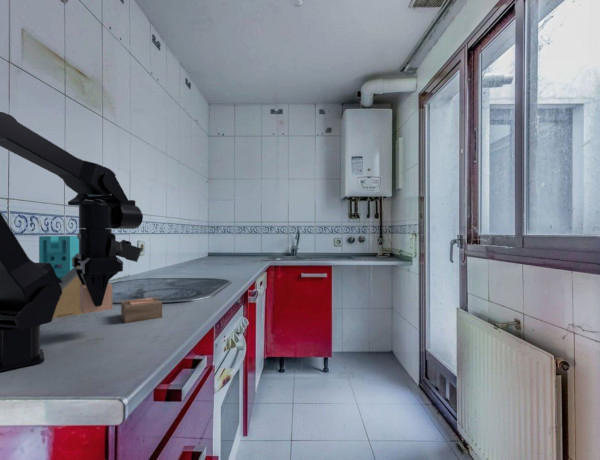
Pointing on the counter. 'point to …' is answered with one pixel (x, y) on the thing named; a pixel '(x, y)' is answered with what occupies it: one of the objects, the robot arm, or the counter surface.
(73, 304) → the sandwich container
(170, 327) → the counter surface
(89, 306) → the terracotta cube
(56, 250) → the toy
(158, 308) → the oak base block
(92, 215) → the robot arm
